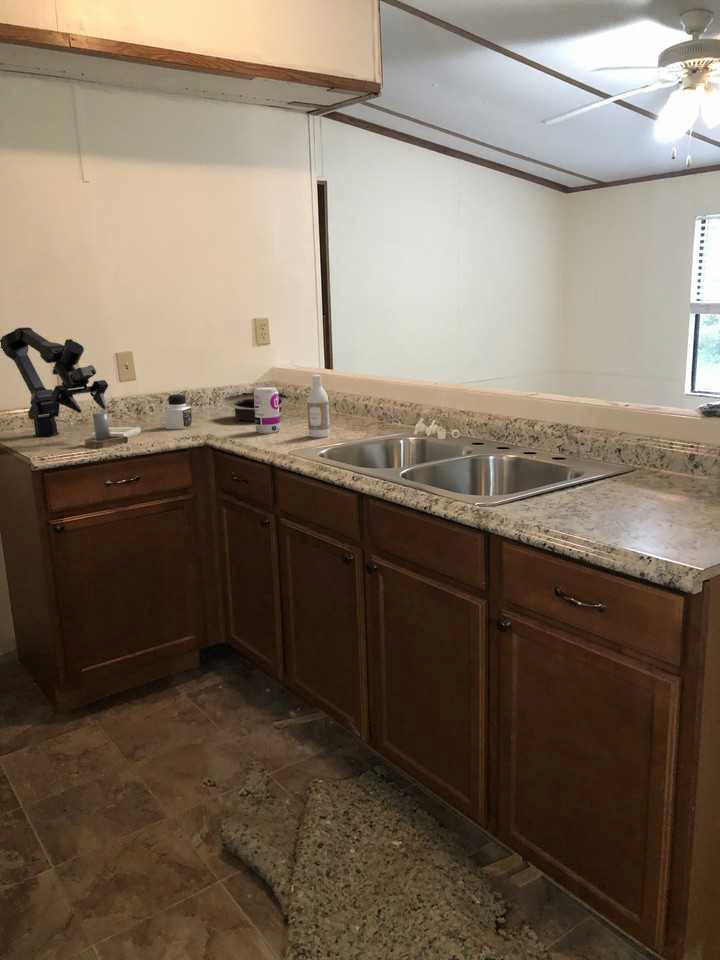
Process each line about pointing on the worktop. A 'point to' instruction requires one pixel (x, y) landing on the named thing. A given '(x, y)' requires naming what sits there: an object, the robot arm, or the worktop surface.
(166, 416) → the medicine bottle
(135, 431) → the dish
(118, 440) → the socket
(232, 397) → the stone bowl
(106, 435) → the grey rounded upright piece
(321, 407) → the bath foam
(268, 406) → the supplement can
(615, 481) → the worktop surface
